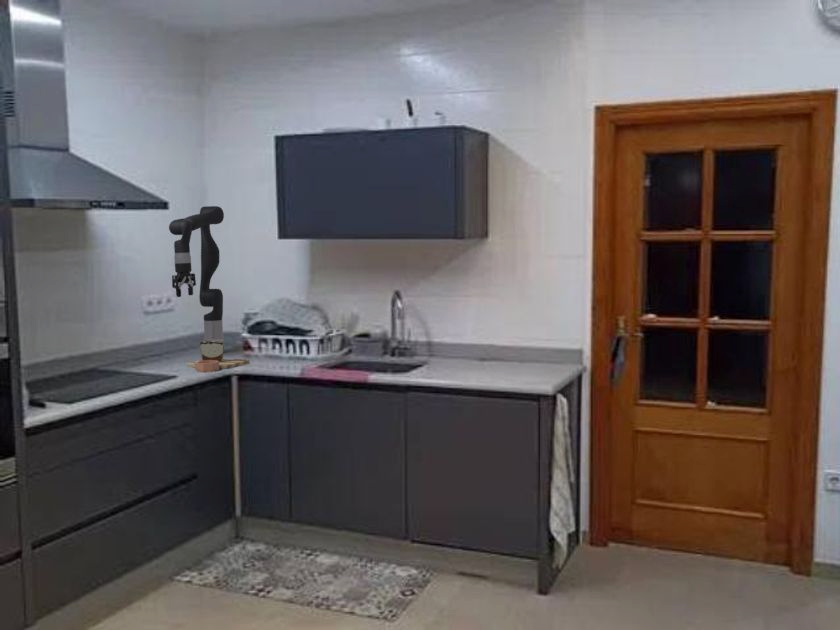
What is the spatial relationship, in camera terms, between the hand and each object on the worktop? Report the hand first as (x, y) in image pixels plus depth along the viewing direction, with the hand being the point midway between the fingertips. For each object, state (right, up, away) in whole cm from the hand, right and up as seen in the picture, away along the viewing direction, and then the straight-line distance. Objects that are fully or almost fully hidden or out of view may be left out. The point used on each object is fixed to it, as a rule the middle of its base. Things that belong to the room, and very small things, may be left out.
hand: (184, 296), depth 392 cm
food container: (+17, -31, -10) cm, 37 cm away
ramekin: (+18, -34, -27) cm, 47 cm away
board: (+19, -32, -11) cm, 39 cm away
